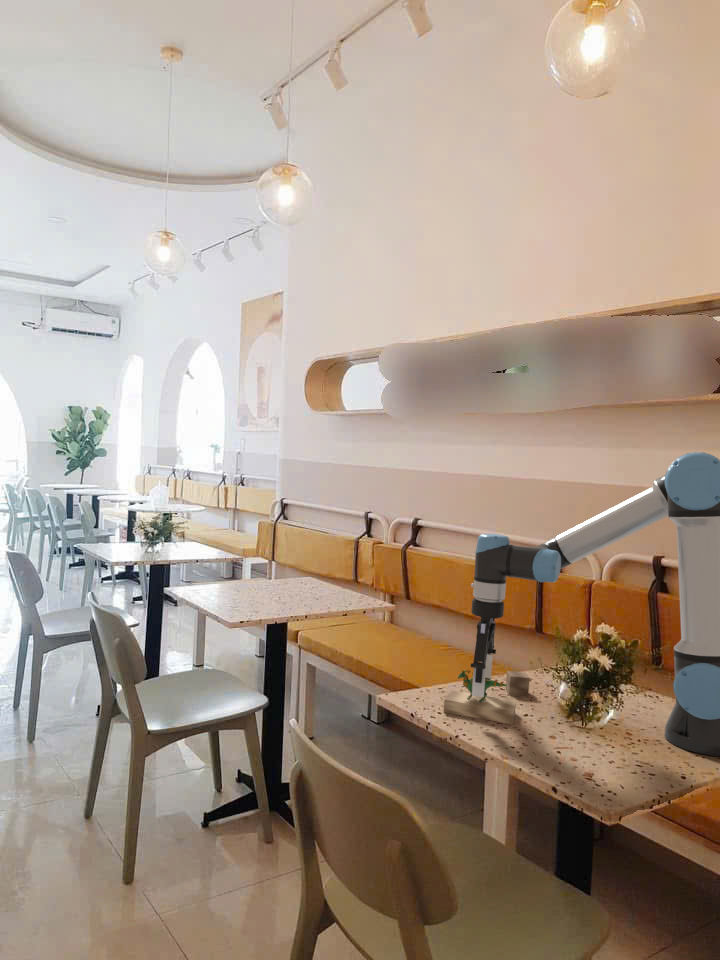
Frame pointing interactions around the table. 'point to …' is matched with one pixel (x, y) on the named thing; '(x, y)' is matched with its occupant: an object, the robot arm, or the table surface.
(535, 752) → the table surface
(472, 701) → the beige rectangular block
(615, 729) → the table surface
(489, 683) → the figurine
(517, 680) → the grey brown cube
